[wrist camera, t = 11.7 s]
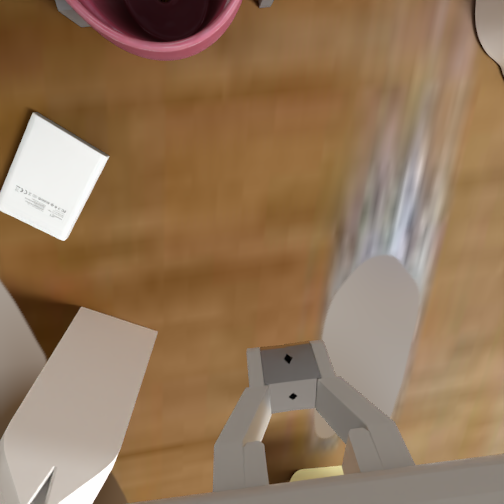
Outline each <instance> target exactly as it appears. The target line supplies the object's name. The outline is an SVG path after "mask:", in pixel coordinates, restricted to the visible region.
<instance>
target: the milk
mask: <svg viewBox="0 0 504 504" xmlns="http://www.w3.org/2000/svg"><path fill="white" fill-rule="evenodd" d="M157 333H158V331H155V330H152V329H149V328H146V327H142V326H139V325H136V324H133V323H130V322H127V321H124V320H121V319H118V318H115V317H112V316H109V315H106V314H103V313H100V312H97V311H94V310H91V309H87V308H84V307H81V308H80V309H79V311H78V313H77V314H76V316H75V317H74V319H73V321H72V322H71V324H70V326H69V327H68V329H67V330H66V332H65V334H64V335H63V337H62V339H61V340H60V342H59V343H58V345H57V347H56V348H55V350H54V352H53V353H52V355H51V356H50V358H49V360H48V361H47V363H46V365H45V366H44V368H43V369H42V371H41V373H40V375H39V376H38V378H37V379H36V381H35V382H34V384H33V386H32V387H31V389H30V391H29V392H28V394H27V395H26V397H25V399H24V400H23V402H22V404H21V405H20V407H19V408H18V410H17V412H16V413H15V415H14V417H13V418H12V420H11V421H10V423H9V425H8V427H7V429H6V431H5V433H4V435H3V437H2V438H1V441H0V504H92V503H93V502H94V500H95V498H96V496H97V494H98V493H99V491H100V489H101V487H102V486H103V484H104V482H105V480H106V479H107V477H108V475H109V473H110V471H111V470H112V468H113V465H114V463H115V461H116V458H117V456H118V453H119V451H120V448H121V446H122V443H123V440H124V436H125V433H126V430H127V427H128V424H129V421H130V418H131V415H132V411H133V408H134V405H135V402H136V399H137V396H138V393H139V389H140V386H141V383H142V380H143V377H144V374H145V371H146V368H147V364H148V361H149V358H150V355H151V352H152V349H153V346H154V343H155V339H156V336H157Z"/></svg>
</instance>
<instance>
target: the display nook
mask: <svg viewBox="0 0 504 504" xmlns="http://www.w3.org/2000/svg"><path fill="white" fill-rule="evenodd" d="M258 1H259V8H263V7H270V6H271V5H272V3H273V1H274V0H258ZM55 2H56V5H57V8H58V11H59V12H60V13H62V14H63V15H65V16H66V17H68V18H69V19H70V20H72V21H73V22H75V23H76V24H78V25H79V26H80V27H89V26H90V25H89V24H88V23H87V22H86V21H85V20H84V19H83V18H82V17H81V16H80V15H79V14H78V13H77V12H76V11H75V10H74V9H73V8H72V7H71V6H70V5H69V4H68V3H67V2H66V1H65V0H55Z"/></svg>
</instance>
